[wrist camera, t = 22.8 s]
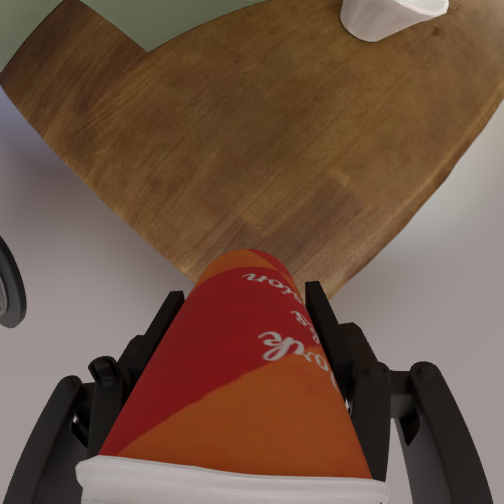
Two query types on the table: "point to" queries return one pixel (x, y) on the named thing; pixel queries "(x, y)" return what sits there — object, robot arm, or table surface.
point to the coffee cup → (235, 405)
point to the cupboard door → (20, 23)
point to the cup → (387, 16)
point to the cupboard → (162, 16)
